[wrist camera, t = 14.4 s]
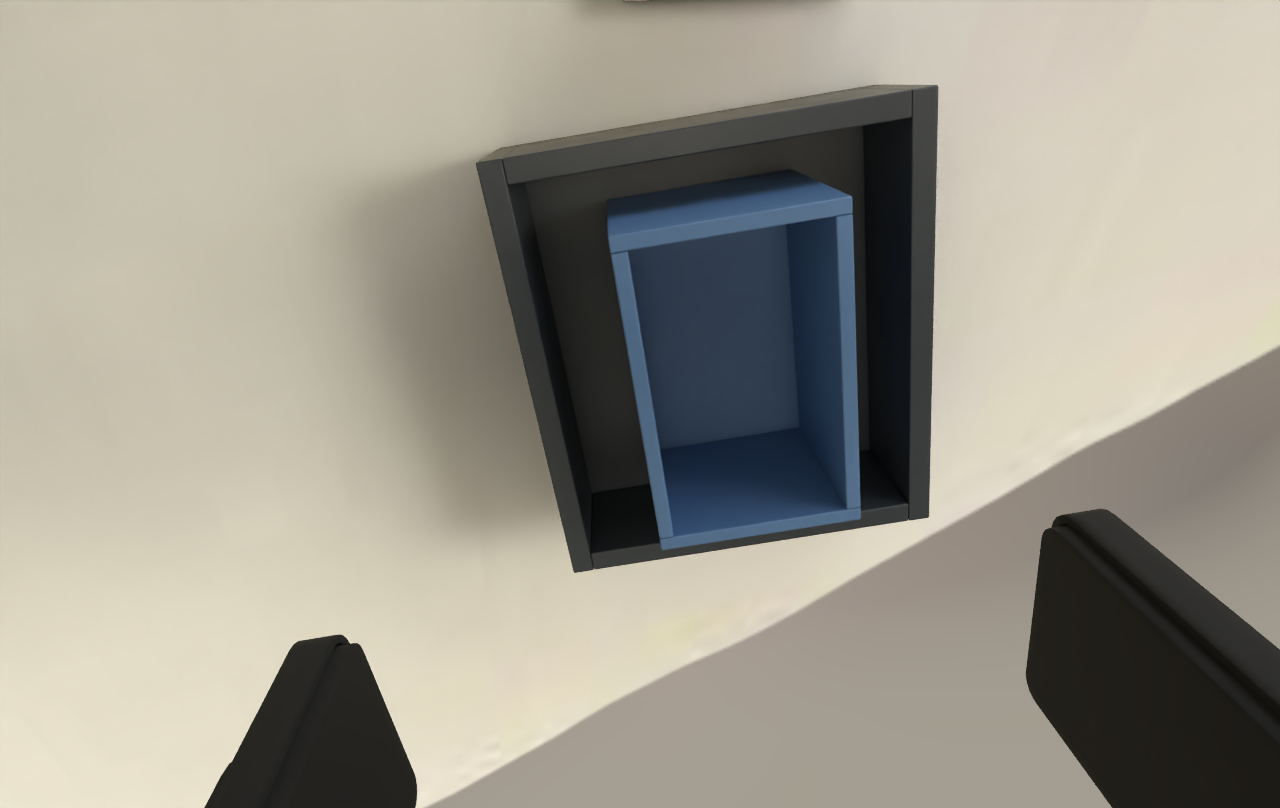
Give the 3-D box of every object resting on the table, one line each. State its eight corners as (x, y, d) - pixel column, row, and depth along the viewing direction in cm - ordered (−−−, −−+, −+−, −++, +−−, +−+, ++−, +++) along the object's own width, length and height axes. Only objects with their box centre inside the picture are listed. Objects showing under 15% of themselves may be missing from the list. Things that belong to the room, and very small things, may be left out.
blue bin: (649, 454, 31) (661, 551, 25) (606, 199, 26) (607, 236, 20) (807, 429, 31) (861, 519, 24) (792, 168, 26) (852, 195, 20)
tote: (578, 501, 33) (573, 573, 28) (498, 148, 26) (475, 162, 21) (880, 453, 32) (929, 517, 28) (876, 84, 26) (939, 84, 21)
